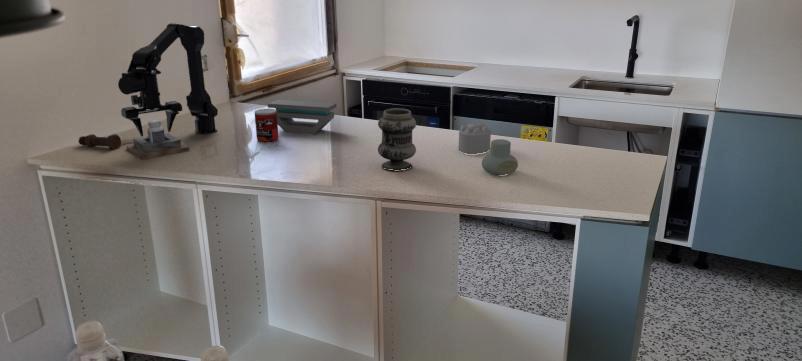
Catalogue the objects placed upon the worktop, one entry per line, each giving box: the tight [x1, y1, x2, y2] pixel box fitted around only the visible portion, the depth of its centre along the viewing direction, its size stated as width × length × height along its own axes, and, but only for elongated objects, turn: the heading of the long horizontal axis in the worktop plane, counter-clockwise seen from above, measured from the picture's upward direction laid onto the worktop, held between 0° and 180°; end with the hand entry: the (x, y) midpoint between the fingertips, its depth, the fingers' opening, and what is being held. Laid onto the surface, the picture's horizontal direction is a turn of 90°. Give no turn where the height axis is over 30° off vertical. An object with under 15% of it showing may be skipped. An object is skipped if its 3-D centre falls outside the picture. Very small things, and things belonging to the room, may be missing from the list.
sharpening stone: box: [267, 99, 337, 136], centre depth 230 cm, size 25×8×11 cm, turn 73°
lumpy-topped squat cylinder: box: [458, 122, 492, 154], centre depth 205 cm, size 10×13×9 cm
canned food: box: [254, 108, 279, 144], centre depth 217 cm, size 8×8×11 cm
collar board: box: [126, 132, 190, 160], centre depth 208 cm, size 16×16×4 cm
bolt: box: [78, 133, 122, 151], centre depth 211 cm, size 6×5×15 cm
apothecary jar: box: [377, 107, 417, 170], centre depth 186 cm, size 12×12×18 cm
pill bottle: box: [146, 119, 165, 143], centre depth 206 cm, size 5×5×9 cm
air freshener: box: [481, 138, 519, 176], centre depth 182 cm, size 11×8×10 cm
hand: (155, 134), depth 206 cm, fingers open, 9 cm apart
